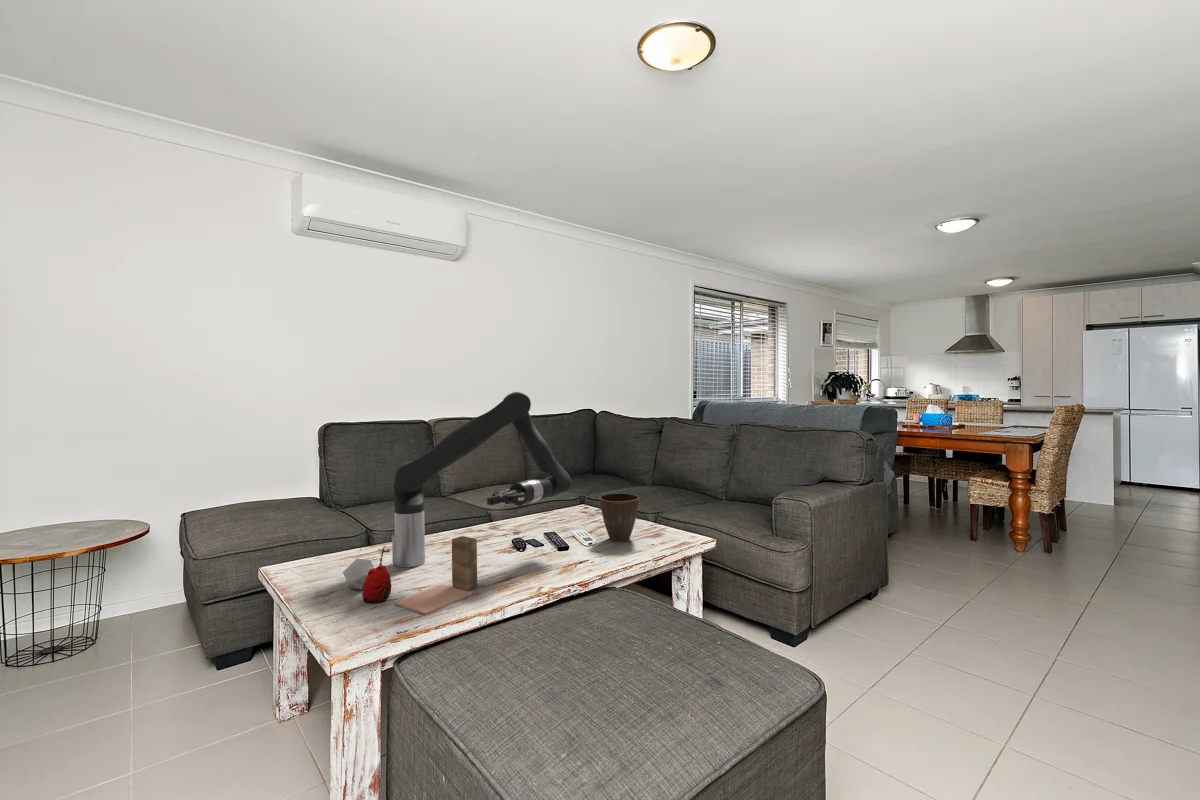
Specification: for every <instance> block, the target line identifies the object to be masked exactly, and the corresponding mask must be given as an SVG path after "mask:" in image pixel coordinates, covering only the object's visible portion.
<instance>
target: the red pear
mask: <svg viewBox="0 0 1200 800" xmlns="http://www.w3.org/2000/svg"><path fill="white" fill-rule="evenodd" d="M385 548H386V545H384V546H383V548H382V549H381V548H378V550H379V551H380V552H381V555H380V558H379V565H378V566H377V567H374V569H370V570H369V571H368V575H367V577H366V579H365V581H364V584H363V586H362V589H363V590H362V594H361V595H362V601H363V602H365V603H370V604H373V603H374V604H376V603H381V602H384V601H386V600H388V599H389V597H390V595H391V592H392V578H391V575H390V572H389V571H388V569H387V565H384V564H383V565H382V563H383V555H384V553H390V551H391V550H390V549H387V550H385Z"/></svg>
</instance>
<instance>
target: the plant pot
mask: <svg viewBox="0 0 1200 800" xmlns="http://www.w3.org/2000/svg"><path fill="white" fill-rule="evenodd" d="M639 499H640V497H639V496H638V495H636V494H632V493H623V492H621V493H619V492H618V493H609V494H608V493H607V494H603V495H601V496H599V503H600V509H601V510H600V511H601V514H602V519H603V522H604V526H605V529H606V533H607V535H608V538H609V540H610V541H611V542H616V541H624V542H627V540H628V541H629V540H630V539H631V535H632V532H633V530H634V527H635V523H636V519H637V514H638V507H639Z"/></svg>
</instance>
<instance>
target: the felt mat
mask: <svg viewBox="0 0 1200 800" xmlns="http://www.w3.org/2000/svg"><path fill="white" fill-rule="evenodd" d="M472 593H473V592H471V591H464V590H460V589H457V588H453V587H452V586H449V585H447V584H446V585H445V584H440V585H438V586H436V587H433V588H429V589H428V590H424V591H421V592H420V593H417V594H415V595H411V596H409V597H407V598H404V599H401V600H399V601H396V602H395V603H394V604H395V605H396V606H398V607H401V608H403V609H407V610H409V611H413V612H415V613H418V614H422V615H424V616H425V615H428V614H430V613H432V612H435V611H437V610H440V609H442V608H444V607H446V606H448V605H449V606H450V605H451V604H454V603H456V602H458V601H460V600H463V599H465V598H467V597H470V596H472V595H473V594H472Z"/></svg>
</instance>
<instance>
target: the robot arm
mask: <svg viewBox="0 0 1200 800" xmlns="http://www.w3.org/2000/svg"><path fill="white" fill-rule="evenodd" d="M531 406H532V403H531V399H530V397H529V396H528V395H527V394H526V393H524V392H520V391H514V392H511V393H508V394H507V395H505V397H504V398H503V400H502V401H500V402H499V403H498V404H496V406H494V407H492V409H490V410H489V411H487V412H485V413H483V414H481V415H478V416H476V417H474V418H472V419H470V420H469V421H467V422H466V423H463V424H461V425H460V426H458V427H457V428H455V429H453V431H451V432H450V433H448V434H447V435H446V436H445V437H443V439H441V440H440V441H439V442H438V443H437V444H436V445H434V447H433V448H432V449H431V450H429V451H428V452H426V453H424V455H422V456H420V457H418V458H416V459H414V460H407V461H404V462H401V463H399V464H398V465H397V466H396V468H395V469H394V473H393V502H394V503H393V505H394V506H393V507H394V535H392V536H391V544H392V545H391V548H392V549H391V551H392V555H391V556H392V558H391V559H392V566H395V567H399V568H412V567H413V568H414V567H418V566H421V565H423V564H424V563H425V562H426V559H425V558H426V550H425V549H426V547H425V546H426V544H425V543H426V541H425V539H426V538H425V536H426V535H425V534H426V533H425V530H426V529H425V500H424V499H425V496H424V485H425V484H426V483H428V481H430V480H431V479H432V478H434V477H435V476H436V475H437V474H438V473H439V472H441V471H443V470H444V469H445V468H447V467H450V466H451V465H452V464H455V463H457V461H459V460H461V459H462V458H464V457H465V456H468V455H469V454H470V453H472V452H473V451H475V450H477V449H478V448H479V447H481V446H482V445H484V444H485V443H486V442H487V441H488V440H490V439H491V438H492V437H493V436H494V435H496V434H497V433H498V432H499V431H501V430H502V429H503V428H505V427H507V426H508V425H510V424H512V425H513V427H514V428H515V429H516V431H517V434H519V436H520V438H521V439H522V441H523V443H524V445H525V446H526V449H527V451H528V453H529V455H530V457H531V459H532V461H533V462H534V464H535V467H536V469H537V470H538V471H539V472H540V473H548V474H549V475H550V476H547V477H539V478H538V477H537V478H534V479H527V480H523V481H519V482H514V483H513V484H511V486H510V487H509V488H507V489H504V490H503V491H498V490H494V491H493V492H492V493H491V494H492V495H491V496H489V497H487V499H486V504H487V505H488V506H495V505H499V504H500V505H502V504H505V505H511V504H513V505H515V506H518V507H520V506H525V505H529V504H532V503H535V502H537V501H539V500H544V499H545V498H551V497H555V496H558V495H561V494H565V493H567V492H569V491H570V490H571V488H572V484H573V483H572V479H571V476H570V474H569V473H568V472H567V471H566V470H565V468H564V467H563V466H562V465H561V464H560V463H559V462H558V461H557V460H556V458H555V456H554V454H553V452H552V451H551V448H550V446H549V445H548V443H547V441H546V440H545V439H544V437H543V436H542V435H541V433H540V432H539V430H538V429H537V427H536V425H535V424H534V422H533V420H532V417H531V415H530V413H529V412H530V410H531Z"/></svg>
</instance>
